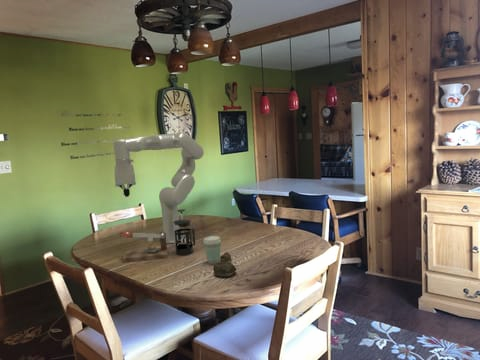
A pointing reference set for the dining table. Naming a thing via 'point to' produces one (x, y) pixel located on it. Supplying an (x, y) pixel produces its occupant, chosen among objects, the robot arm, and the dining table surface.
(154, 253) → the base
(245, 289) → the dining table surface
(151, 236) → the lever
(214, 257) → the coffee cup
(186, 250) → the french press
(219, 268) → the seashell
